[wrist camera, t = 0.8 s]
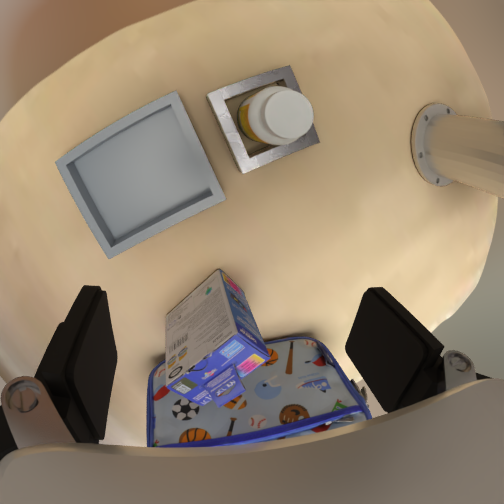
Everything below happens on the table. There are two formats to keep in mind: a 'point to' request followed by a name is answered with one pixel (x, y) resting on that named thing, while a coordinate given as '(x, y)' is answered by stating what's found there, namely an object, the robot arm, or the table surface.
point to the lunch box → (261, 401)
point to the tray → (140, 175)
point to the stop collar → (230, 132)
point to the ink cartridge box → (212, 342)
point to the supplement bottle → (275, 116)
